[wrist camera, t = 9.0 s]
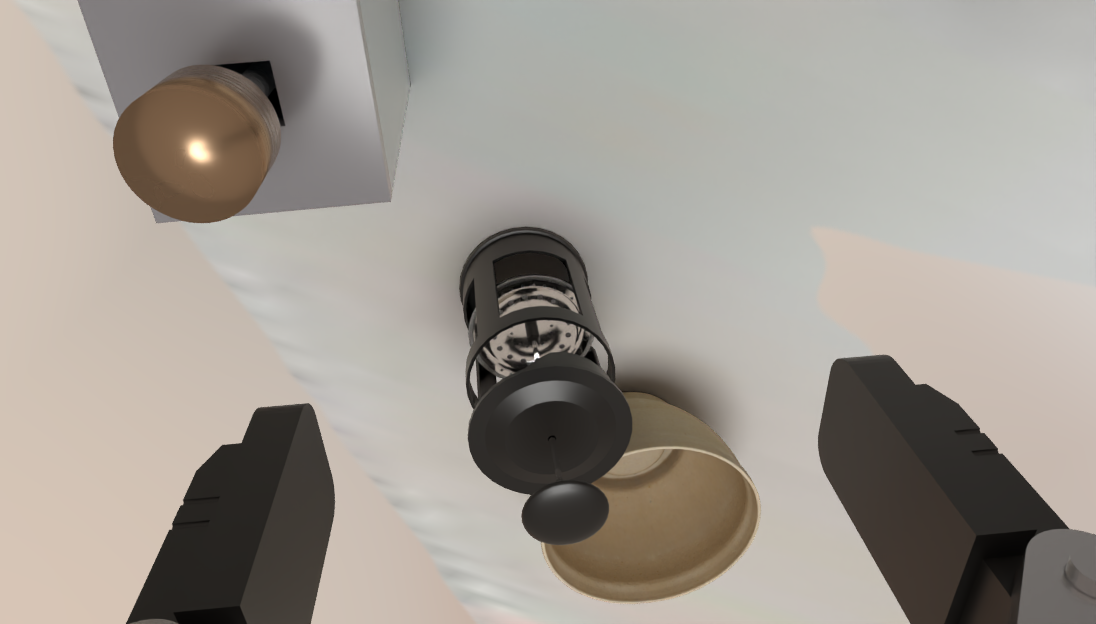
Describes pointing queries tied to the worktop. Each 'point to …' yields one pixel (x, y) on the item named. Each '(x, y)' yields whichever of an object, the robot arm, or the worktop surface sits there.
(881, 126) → the worktop surface
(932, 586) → the robot arm
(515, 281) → the french press
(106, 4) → the block
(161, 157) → the plunger
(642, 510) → the planter bowl
